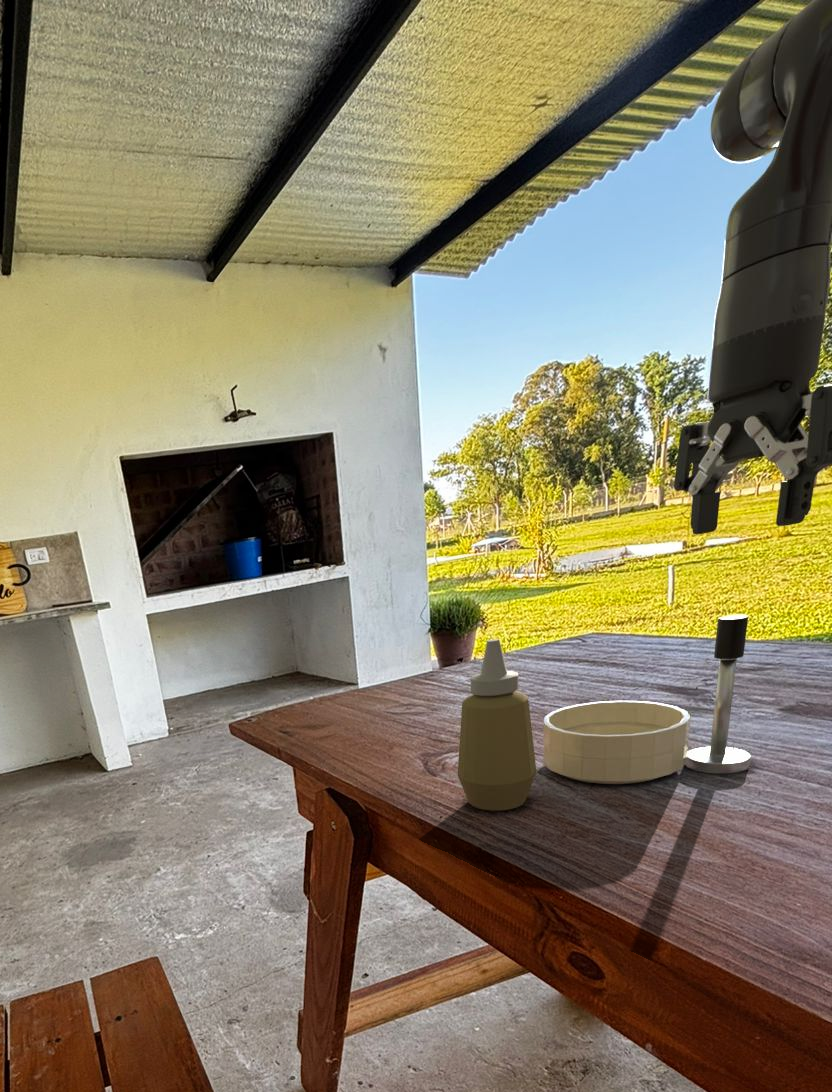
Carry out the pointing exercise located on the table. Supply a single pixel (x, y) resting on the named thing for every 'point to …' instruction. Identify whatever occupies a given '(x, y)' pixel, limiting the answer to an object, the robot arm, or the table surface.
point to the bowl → (616, 741)
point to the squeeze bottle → (496, 737)
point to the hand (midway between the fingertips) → (743, 529)
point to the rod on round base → (723, 702)
